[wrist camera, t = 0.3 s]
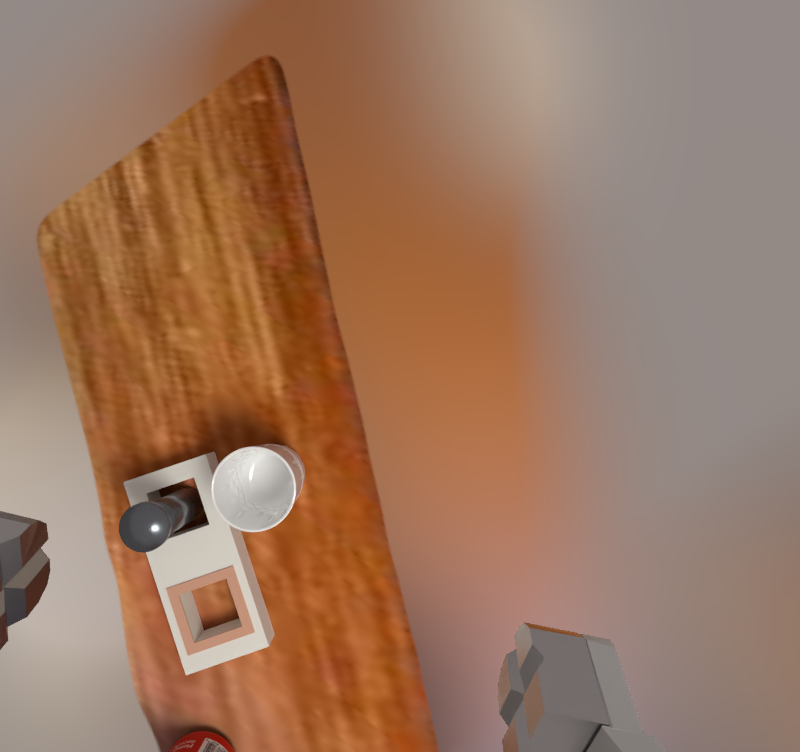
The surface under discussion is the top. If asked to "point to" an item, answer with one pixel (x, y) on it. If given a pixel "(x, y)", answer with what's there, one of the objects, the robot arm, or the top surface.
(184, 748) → the soda can
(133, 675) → the top surface
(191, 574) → the dock board
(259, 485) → the white cup
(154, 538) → the pin
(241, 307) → the top surface
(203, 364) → the top surface
